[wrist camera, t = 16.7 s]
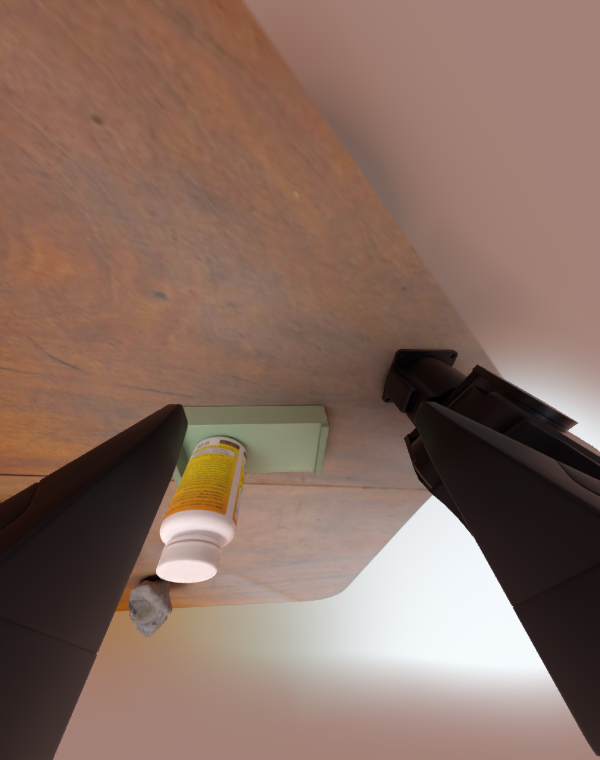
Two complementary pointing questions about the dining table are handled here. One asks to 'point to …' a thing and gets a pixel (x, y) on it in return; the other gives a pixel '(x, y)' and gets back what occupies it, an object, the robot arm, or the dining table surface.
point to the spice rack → (261, 436)
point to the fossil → (150, 605)
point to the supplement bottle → (203, 511)
